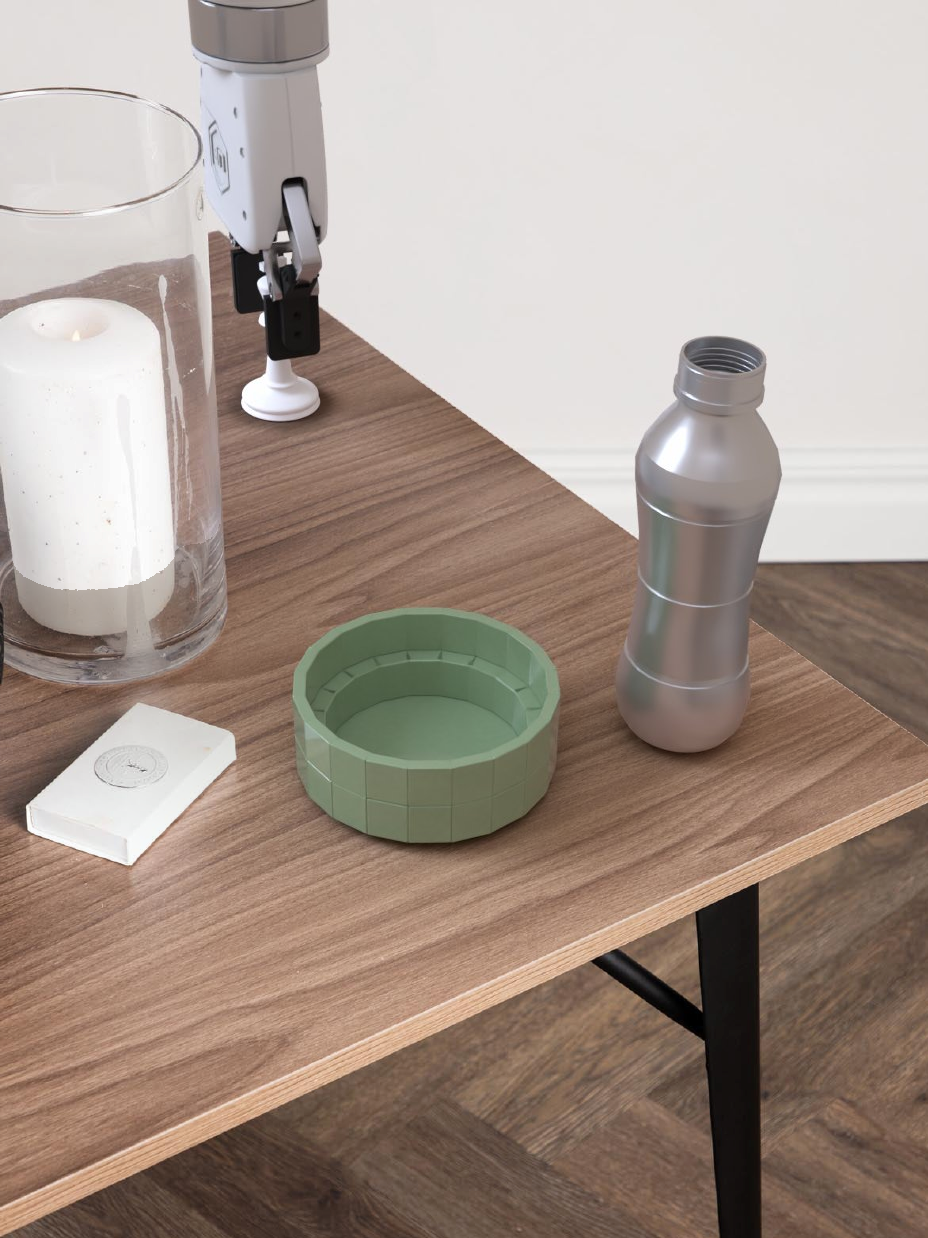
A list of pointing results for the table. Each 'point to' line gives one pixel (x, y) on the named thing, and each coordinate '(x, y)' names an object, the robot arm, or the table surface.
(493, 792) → the bowl
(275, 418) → the chess piece
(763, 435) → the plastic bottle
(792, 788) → the table surface
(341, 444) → the table surface
